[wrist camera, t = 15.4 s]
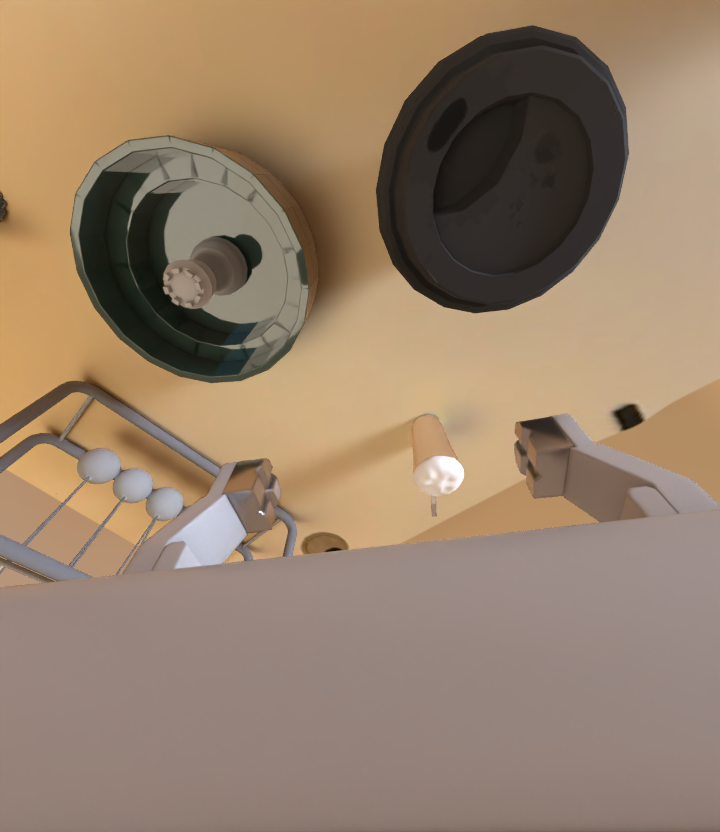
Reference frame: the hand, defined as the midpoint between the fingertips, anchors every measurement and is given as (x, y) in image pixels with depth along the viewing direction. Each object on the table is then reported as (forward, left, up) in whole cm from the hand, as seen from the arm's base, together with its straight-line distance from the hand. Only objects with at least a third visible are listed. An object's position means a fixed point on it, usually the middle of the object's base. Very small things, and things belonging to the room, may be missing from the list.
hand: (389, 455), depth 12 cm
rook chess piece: (+5, -12, -23) cm, 27 cm away
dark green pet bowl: (+5, -12, -24) cm, 27 cm away
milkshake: (+10, +13, -24) cm, 29 cm away
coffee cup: (-9, +1, -24) cm, 26 cm away
